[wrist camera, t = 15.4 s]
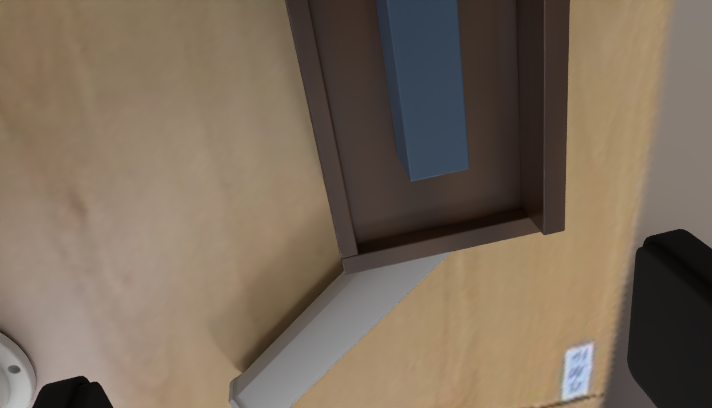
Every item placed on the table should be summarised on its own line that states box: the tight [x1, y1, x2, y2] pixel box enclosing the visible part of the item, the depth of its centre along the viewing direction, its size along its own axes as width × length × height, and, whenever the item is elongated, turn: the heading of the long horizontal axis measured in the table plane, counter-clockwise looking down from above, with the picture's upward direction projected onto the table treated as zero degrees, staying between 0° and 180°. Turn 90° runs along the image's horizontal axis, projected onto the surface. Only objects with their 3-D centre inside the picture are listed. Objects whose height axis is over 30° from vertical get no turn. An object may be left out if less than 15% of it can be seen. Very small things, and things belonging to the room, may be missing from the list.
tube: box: [229, 252, 451, 408], centre depth 44 cm, size 5×5×25 cm
